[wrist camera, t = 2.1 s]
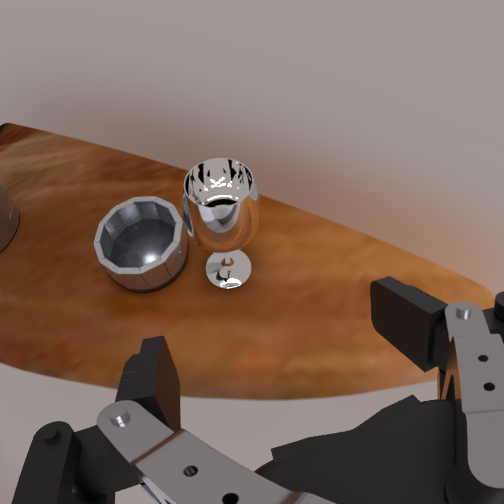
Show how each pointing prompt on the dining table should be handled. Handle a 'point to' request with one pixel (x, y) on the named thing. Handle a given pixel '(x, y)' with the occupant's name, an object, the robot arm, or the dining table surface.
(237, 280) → the wineglass
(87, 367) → the dining table surface
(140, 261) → the grey bowl
